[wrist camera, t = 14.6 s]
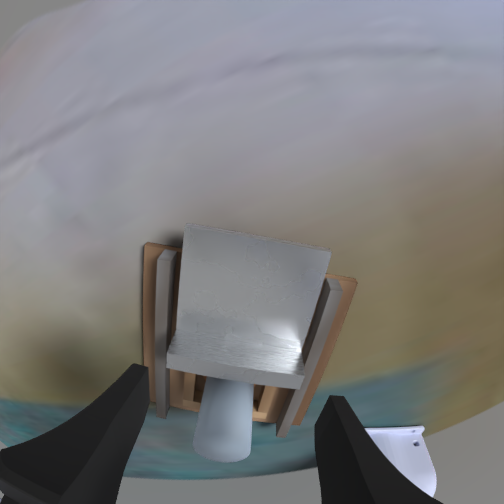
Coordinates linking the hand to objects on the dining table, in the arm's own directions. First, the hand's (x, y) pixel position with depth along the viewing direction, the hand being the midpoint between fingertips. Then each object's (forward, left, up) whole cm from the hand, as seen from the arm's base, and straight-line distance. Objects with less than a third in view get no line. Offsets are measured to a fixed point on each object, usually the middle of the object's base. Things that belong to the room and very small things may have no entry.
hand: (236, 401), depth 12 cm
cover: (0, 0, -8) cm, 8 cm away
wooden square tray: (0, +6, -10) cm, 12 cm away
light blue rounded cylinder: (0, +8, -10) cm, 13 cm away
